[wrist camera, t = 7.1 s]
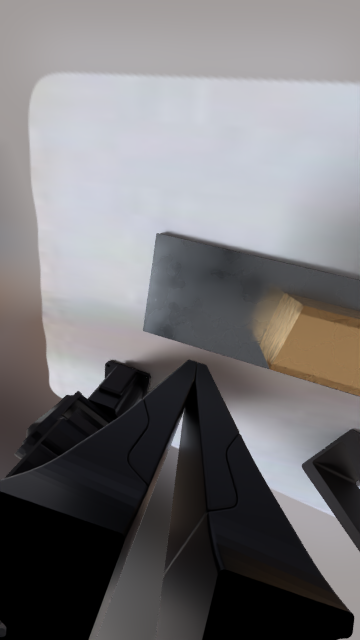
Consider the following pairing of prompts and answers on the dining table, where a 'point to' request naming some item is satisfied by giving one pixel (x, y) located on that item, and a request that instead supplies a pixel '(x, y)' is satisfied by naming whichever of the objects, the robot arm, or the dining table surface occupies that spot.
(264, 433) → the dining table surface
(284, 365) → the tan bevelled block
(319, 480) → the dark grey a-frame stand
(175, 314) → the grey stepped plate
